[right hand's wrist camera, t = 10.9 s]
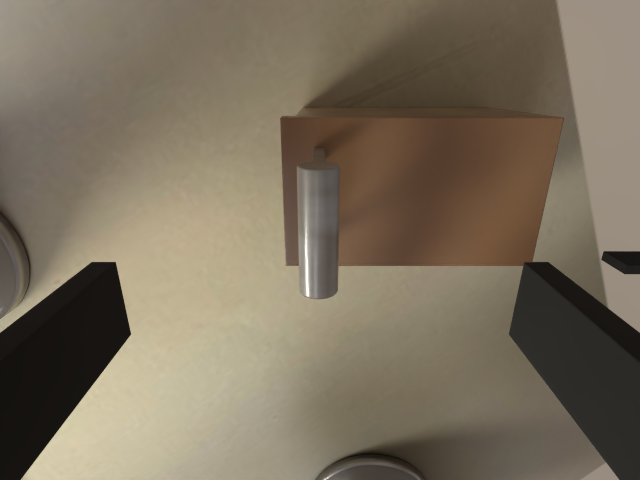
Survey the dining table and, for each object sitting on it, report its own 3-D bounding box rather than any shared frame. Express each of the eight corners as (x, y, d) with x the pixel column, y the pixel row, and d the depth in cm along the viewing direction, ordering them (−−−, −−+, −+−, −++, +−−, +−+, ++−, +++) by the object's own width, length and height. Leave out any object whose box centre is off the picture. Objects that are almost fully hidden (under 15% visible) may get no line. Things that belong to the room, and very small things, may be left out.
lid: (287, 258, 27) (273, 327, 20) (282, 116, 24) (263, 130, 16) (522, 258, 27) (603, 327, 20) (553, 116, 24) (665, 131, 16)
